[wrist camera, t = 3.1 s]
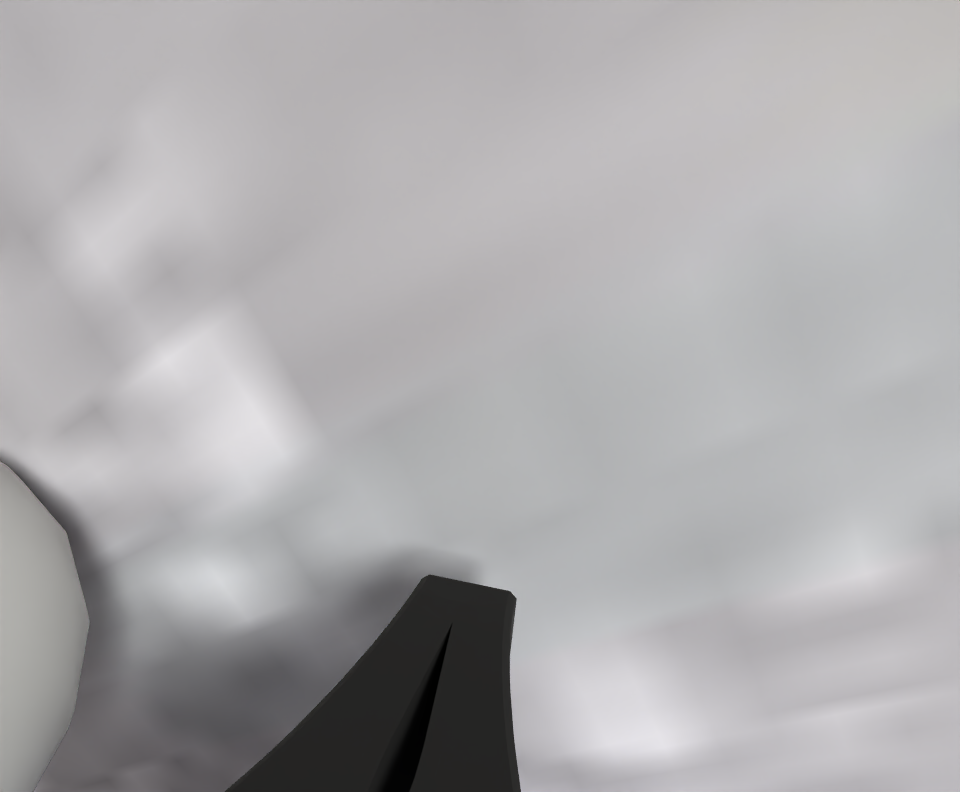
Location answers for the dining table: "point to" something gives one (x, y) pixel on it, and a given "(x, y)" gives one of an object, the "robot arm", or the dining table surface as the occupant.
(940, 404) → the dining table surface
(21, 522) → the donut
